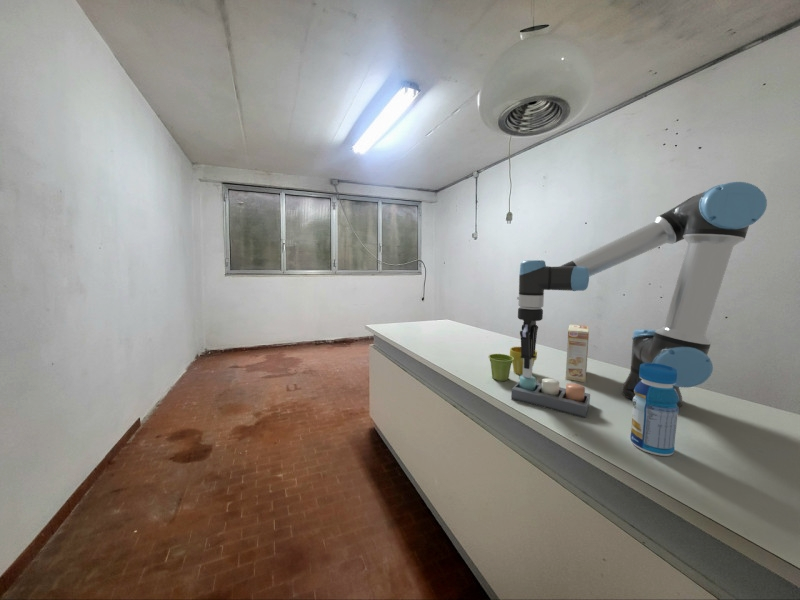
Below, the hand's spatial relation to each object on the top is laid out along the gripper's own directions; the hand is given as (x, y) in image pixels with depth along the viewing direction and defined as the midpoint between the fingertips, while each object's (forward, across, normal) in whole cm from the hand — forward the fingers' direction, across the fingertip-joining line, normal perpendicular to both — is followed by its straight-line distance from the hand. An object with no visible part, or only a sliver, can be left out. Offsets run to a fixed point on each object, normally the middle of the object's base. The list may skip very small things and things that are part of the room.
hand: (527, 376), depth 101 cm
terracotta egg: (+4, 0, +14) cm, 15 cm away
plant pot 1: (+7, -11, -13) cm, 18 cm away
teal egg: (+5, 0, 0) cm, 5 cm away
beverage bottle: (+7, +12, +32) cm, 35 cm away
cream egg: (+4, 0, +7) cm, 8 cm away
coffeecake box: (+7, -33, +10) cm, 35 cm away
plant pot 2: (+7, -23, -8) cm, 25 cm away
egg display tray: (+7, 0, +7) cm, 10 cm away
